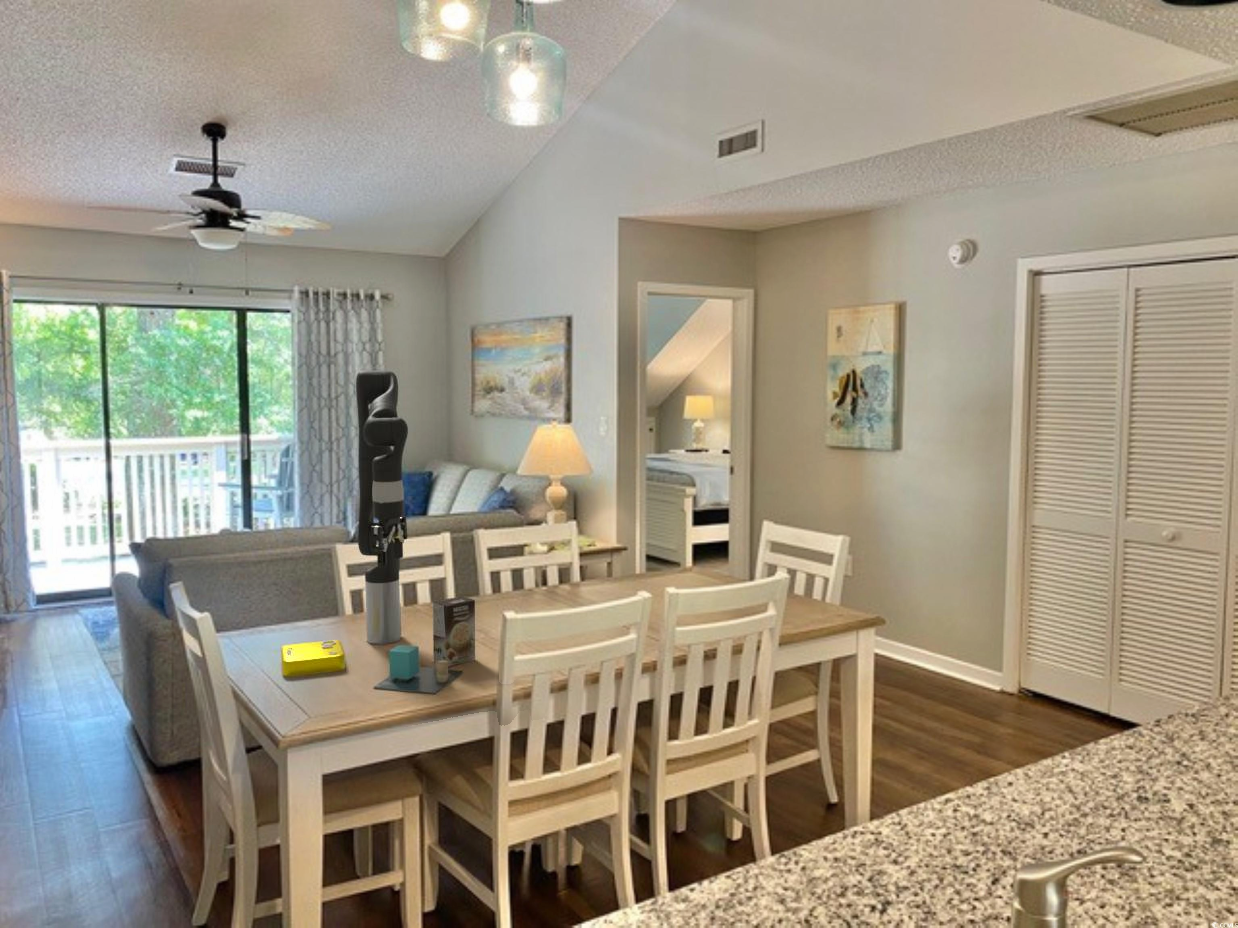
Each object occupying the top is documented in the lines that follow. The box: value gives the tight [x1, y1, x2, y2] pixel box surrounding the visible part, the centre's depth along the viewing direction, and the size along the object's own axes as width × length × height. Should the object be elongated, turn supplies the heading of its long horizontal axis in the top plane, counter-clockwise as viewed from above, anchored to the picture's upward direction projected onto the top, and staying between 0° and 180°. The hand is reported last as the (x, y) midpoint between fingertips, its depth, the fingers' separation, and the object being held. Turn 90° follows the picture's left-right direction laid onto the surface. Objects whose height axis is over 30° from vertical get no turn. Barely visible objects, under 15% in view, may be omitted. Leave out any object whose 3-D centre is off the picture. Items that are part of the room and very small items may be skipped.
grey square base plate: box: [373, 666, 464, 695], centre depth 223 cm, size 16×16×7 cm
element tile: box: [280, 639, 346, 678], centre depth 235 cm, size 15×15×5 cm
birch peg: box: [435, 661, 449, 683], centre depth 222 cm, size 3×3×5 cm
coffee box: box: [432, 596, 476, 667], centre depth 237 cm, size 9×6×16 cm
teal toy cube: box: [388, 644, 420, 679], centre depth 224 cm, size 5×5×7 cm
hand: (390, 562), depth 228 cm, fingers open, 8 cm apart
